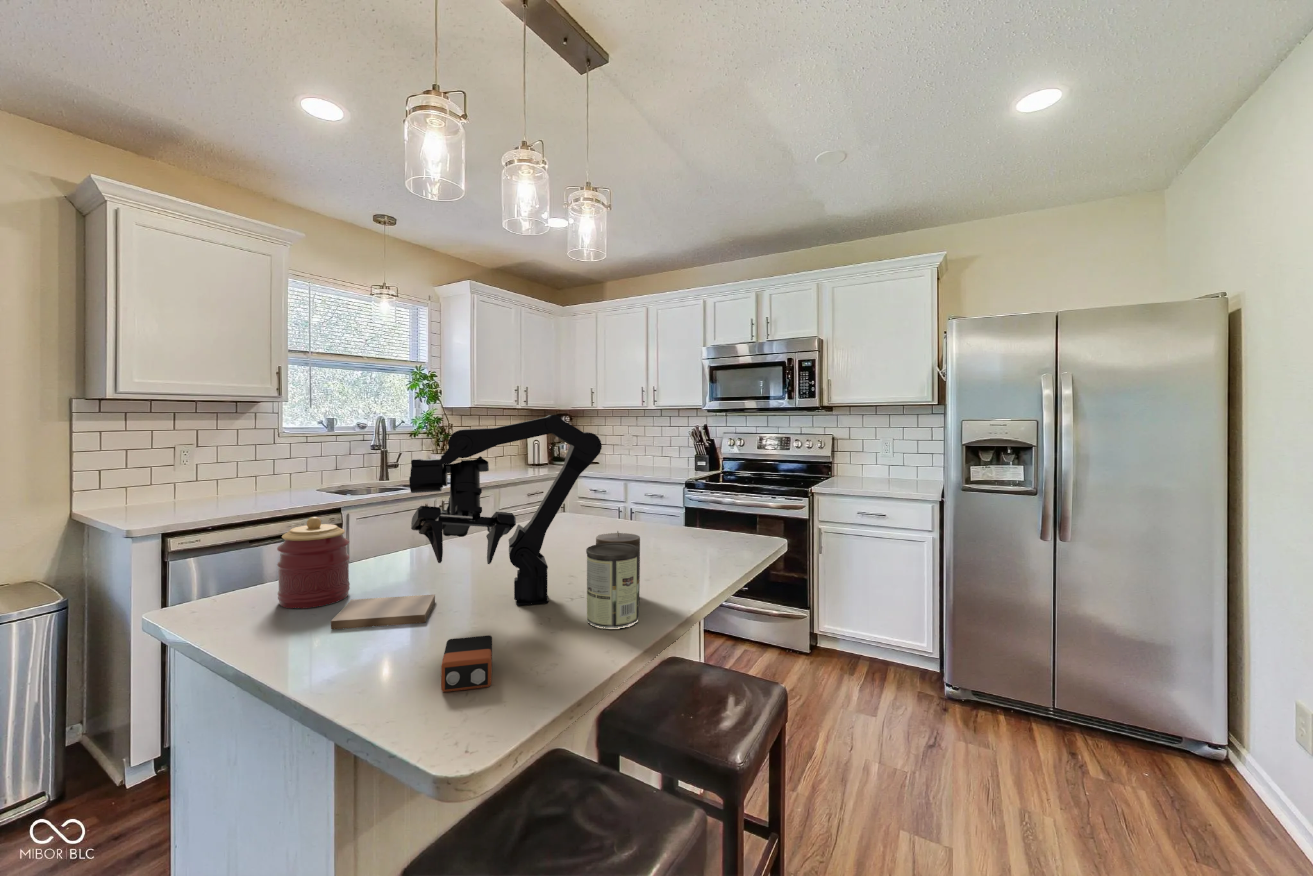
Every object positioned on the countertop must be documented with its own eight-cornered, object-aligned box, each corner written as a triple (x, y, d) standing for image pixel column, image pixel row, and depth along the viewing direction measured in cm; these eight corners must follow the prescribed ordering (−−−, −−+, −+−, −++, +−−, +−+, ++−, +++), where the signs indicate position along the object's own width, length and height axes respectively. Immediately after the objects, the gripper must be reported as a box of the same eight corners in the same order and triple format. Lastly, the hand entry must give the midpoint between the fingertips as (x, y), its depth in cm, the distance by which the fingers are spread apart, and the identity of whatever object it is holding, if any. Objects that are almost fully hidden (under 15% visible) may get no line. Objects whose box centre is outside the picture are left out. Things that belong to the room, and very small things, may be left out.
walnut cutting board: (435, 601, 115) (435, 594, 114) (424, 622, 103) (424, 614, 103) (351, 607, 111) (351, 599, 111) (331, 629, 99) (330, 621, 99)
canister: (361, 589, 122) (360, 511, 122) (328, 610, 109) (327, 523, 109) (302, 589, 122) (301, 511, 121) (262, 610, 109) (261, 522, 108)
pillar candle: (629, 609, 111) (631, 536, 111) (586, 603, 115) (588, 532, 114) (645, 595, 121) (647, 528, 120) (605, 590, 124) (606, 525, 123)
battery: (492, 660, 87) (491, 690, 78) (447, 665, 85) (440, 697, 76) (492, 633, 87) (491, 660, 77) (447, 638, 85) (440, 666, 76)
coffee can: (602, 607, 112) (603, 540, 112) (647, 615, 108) (648, 545, 107) (575, 625, 103) (575, 551, 102) (623, 634, 99) (624, 557, 98)
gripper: (496, 508, 121) (498, 577, 113) (406, 501, 110) (402, 576, 103) (514, 486, 113) (518, 558, 106) (420, 476, 103) (416, 555, 95)
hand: (465, 563), depth 102 cm, fingers open, 9 cm apart
